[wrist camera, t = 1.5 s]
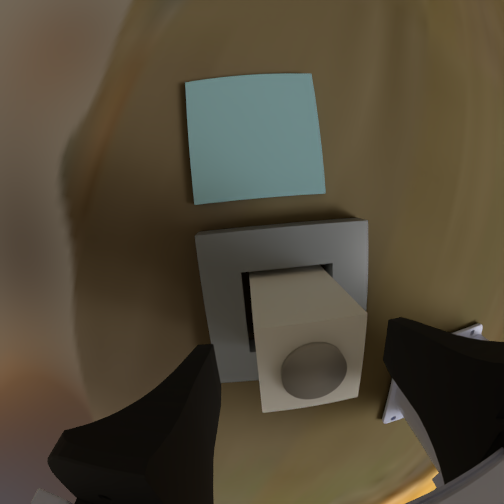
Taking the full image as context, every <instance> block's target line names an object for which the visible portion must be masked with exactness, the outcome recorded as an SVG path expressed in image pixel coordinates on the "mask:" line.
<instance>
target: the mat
mask: <svg viewBox="0 0 504 504" xmlns="http://www.w3.org/2000/svg"><path fill="white" fill-rule="evenodd" d="M185 88H186V108H187V124H188V139H189V152H190V164H191V175H192V185H193V195H194V205H198V204H206V203H215V202H225V201H234V200H244V199H255V198H267V197H279V196H292V195H307V194H324V193H326V192H325V179H324V168H323V157H322V148H321V139H320V130H319V122H318V115H317V107H316V100H315V94H314V87H313V81H312V75H311V74H257V75H242V76H231V77H221V78H213V79H205V80H198V81H191V82H185Z"/></svg>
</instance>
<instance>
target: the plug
mask: <svg viewBox="0 0 504 504" xmlns="http://www.w3.org/2000/svg"><path fill="white" fill-rule="evenodd" d="M249 279H250V291H251V303H252V315H253V326H254V337H255V346H256V356H257V365H258V375H259V384H260V394H261V403H262V412H263V413H265V412H275V411H283V410H291V409H298V408H304V407H310V406H316V405H322V404H327V403H332V402H337V401H342V400H346V399H351V398H355V397H358V392H359V385H360V379H361V372H362V364H363V356H364V347H365V337H366V326H367V312H366V311H365V310H364V309H363V308H362V307H361V306H360V305H359V304H358V303H357V302H356V301H355V300H354V299H353V298H352V297H351V296H350V295H349V294H348V293H347V292H346V291H345V290H344V289H343V288H342V287H341V286H340V285H339V284H338V283H337V282H336V281H335V280H334V279H333V278H332V277H331V276H330V275H329V274H328V273H327V272H326V271H325V270H324V269H323V268H322V267H321V266H320V265H310V266H301V267H292V268H282V269H272V270H262V271H252V272H249Z"/></svg>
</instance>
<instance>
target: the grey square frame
mask: <svg viewBox="0 0 504 504" xmlns="http://www.w3.org/2000/svg"><path fill="white" fill-rule="evenodd" d="M195 243H196V250H197V258H198V265H199V272H200V279H201V286H202V292H203V299H204V305H205V311H206V317H207V323H208V329H209V335H210V340H211V344H213V345H214V350H215V356H216V361H217V366H218V371H219V376H220V382H221V383H225V382H241V381H253V380H259V375H258V365H257V356H256V346H255V339H253V340H249V334H248V325H247V316H246V307H245V298H244V289H243V279H242V272H252V271H262V270H272V269H282V268H292V267H301V266H310V265H319V264H325V271H326V272H327V273H328V274H329V275H330V276H331V277H332V278H333V279H334V280H335V281H336V282H337V283H338V284H339V285H340V286H341V287H342V288H343V289H344V290H345V291H346V292H347V293H348V294H349V295H350V296H351V297H352V298H353V299H354V300H355V301H356V302H357V303H358V304H359V305H360V306H361V307H362V308H363V309H364V310H365V311H366V308H367V288H368V220H364V219H360V218H345V219H331V220H318V221H306V222H294V223H282V224H271V225H260V226H250V227H239V228H229V229H219V230H210V231H200V232H198V233H197V234H196V235H195Z"/></svg>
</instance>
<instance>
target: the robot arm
mask: <svg viewBox="0 0 504 504" xmlns="http://www.w3.org/2000/svg"><path fill="white" fill-rule="evenodd" d="M482 327H483V326H482V325H481V324H480V323H478V324H475V325H473V326H470V327H467V328H465V329H462V330H459V331H456V332H453V333H449V332H446V331H443V330H440V329H437V328H434V327H431V326H428V325H425V324H422V323H419V322H416V321H413V320H410V319H406V318H402V317H399V318H395V319H390V320H388V328H387V336H386V343H385V350H384V357H383V361H384V363H385V365H386V367H387V369H388V371H389V373H390V375H391V377H392V381H391V386H390V390H389V394H388V398H387V402H386V406H385V410H384V413H383V417H382V421H383V423H385V424H386V423H390V422H393V421H396V420H399V419H401V418H405V420H406V421H407V423H408V424H409V426H410V427H411V429H412V431H413V432H414V434H415V435H416V437H417V438H418V440H419V442H420V443H421V445H422V446H423V448H424V449H425V451H426V453H427V454H428V456H429V457H430V459H431V461H432V462H433V464H434V466H435V467H436V469H437V470H438V472H439V473H438V474H437V475H436V476H435V477H434V478H433V479H432V480H433V482H434V484H435V485H436V487H437V488H436V489H435V490H434V491H432V492H430V493H428V494H426V495H423V496H421V497H419V498H417V499H415V500H413V501H410V502H408V503H406V504H504V342H496V341H489V340H488V339H486V338H485V337H484V336H482V335H481V332H482ZM220 407H221V382H220V376H219V371H218V366H217V361H216V356H215V350H214V345H213V344H205V345H197V347H196V348H195V349H194V350H193V351H192V352H191V353H190V354H189V355H188V356H187V358H186V359H185V360H184V361H183V362H182V363H181V364H180V365H179V366H178V367H177V368H176V369H175V371H174V372H173V373H171V374H170V375H169V376H168V377H167V378H166V379H165V380H164V381H163V382H162V383H161V384H160V385H158V386H157V387H156V388H155V389H153V390H152V391H151V392H149V393H148V394H147V395H145V396H144V397H142V398H141V399H139V400H138V401H136V402H134V403H133V404H131V405H129V406H128V407H126V408H124V409H122V410H120V411H119V412H117V413H114V414H112V415H110V416H108V417H105V418H103V419H101V420H98V421H95V422H93V423H90V424H86V425H83V426H79V427H76V428H72V429H69V430H64V432H63V433H62V435H61V437H60V438H59V440H58V442H57V443H56V445H55V447H54V449H53V450H52V452H51V454H50V455H49V457H48V465H49V467H50V469H51V471H52V472H53V473H54V475H55V476H56V477H57V478H58V479H59V480H60V481H61V483H62V484H63V485H64V486H65V487H66V488H67V489H68V490H69V491H70V492H71V493H73V494H74V496H75V497H77V499H76V502H75V504H213V457H214V447H215V440H216V434H217V427H218V421H219V414H220ZM31 504H72V503H71V502H69V501H67V500H65V499H63V498H61V497H59V496H56V495H54V494H52V493H49V492H47V491H45V490H42V489H38V490H37V492H36V494H35V496H34V498H33V500H32V502H31Z"/></svg>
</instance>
